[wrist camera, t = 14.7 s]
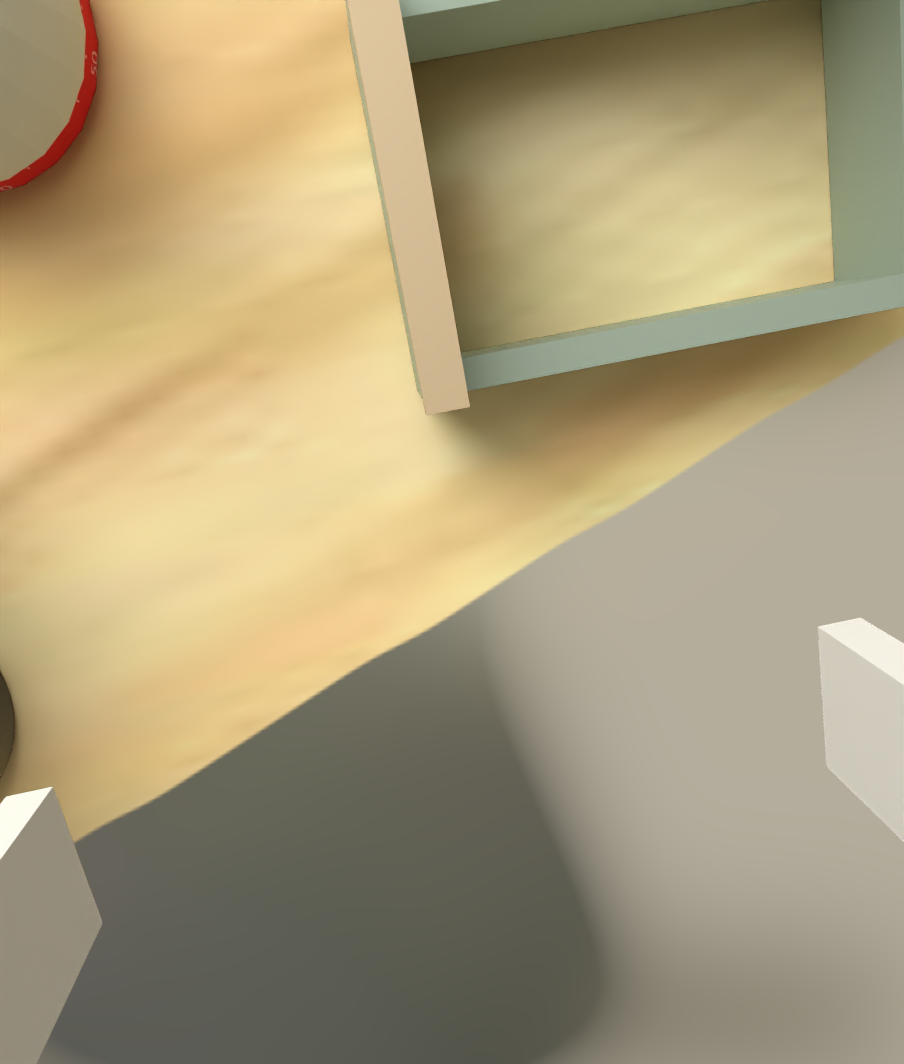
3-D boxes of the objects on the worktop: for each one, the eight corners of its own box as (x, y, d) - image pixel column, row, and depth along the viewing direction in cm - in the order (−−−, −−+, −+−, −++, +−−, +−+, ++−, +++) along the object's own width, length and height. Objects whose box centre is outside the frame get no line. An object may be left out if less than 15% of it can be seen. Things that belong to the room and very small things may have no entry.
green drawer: (415, 394, 42) (426, 415, 31) (345, 34, 37) (332, -81, 27) (862, 307, 43) (1017, 300, 32) (848, -54, 38) (1022, -197, 28)
